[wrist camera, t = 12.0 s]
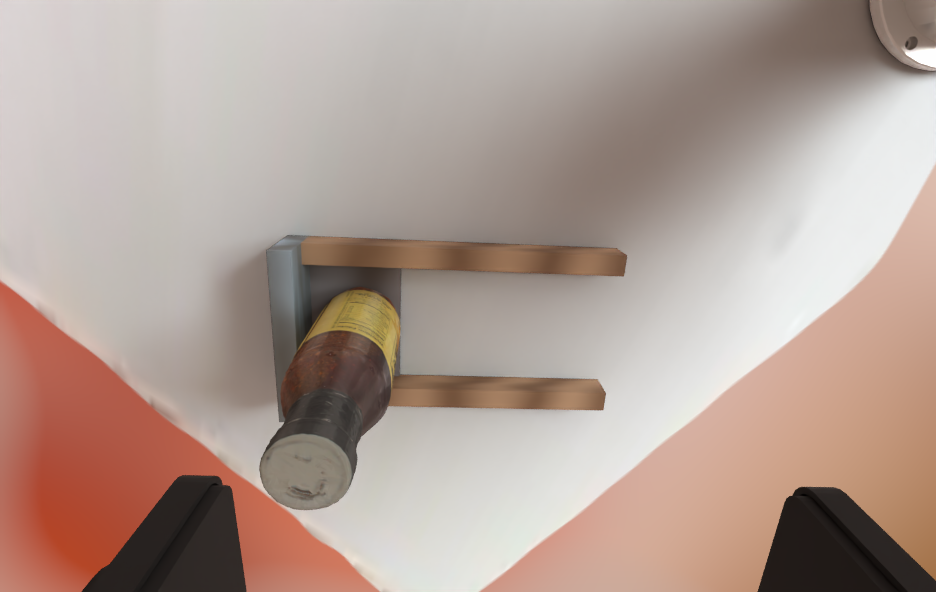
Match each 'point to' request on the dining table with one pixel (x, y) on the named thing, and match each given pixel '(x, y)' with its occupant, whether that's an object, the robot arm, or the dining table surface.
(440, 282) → the dining table surface
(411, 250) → the wooden u-shaped frame
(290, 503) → the sauce bottle
